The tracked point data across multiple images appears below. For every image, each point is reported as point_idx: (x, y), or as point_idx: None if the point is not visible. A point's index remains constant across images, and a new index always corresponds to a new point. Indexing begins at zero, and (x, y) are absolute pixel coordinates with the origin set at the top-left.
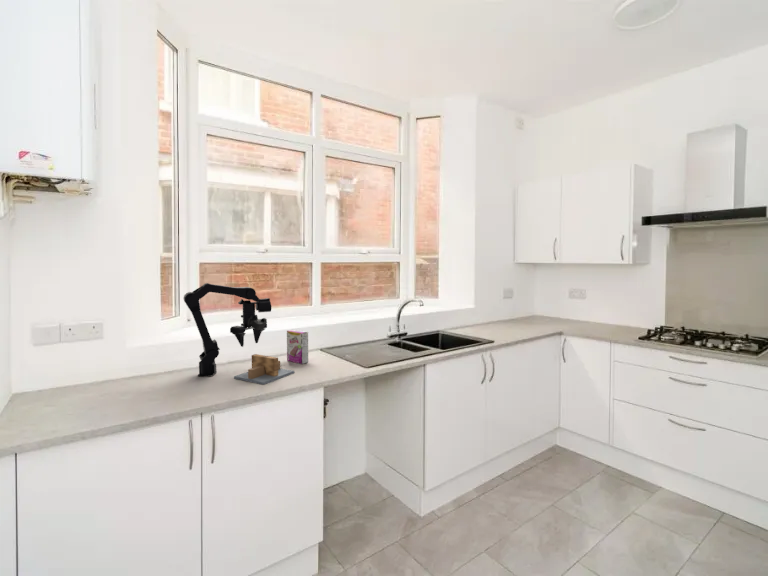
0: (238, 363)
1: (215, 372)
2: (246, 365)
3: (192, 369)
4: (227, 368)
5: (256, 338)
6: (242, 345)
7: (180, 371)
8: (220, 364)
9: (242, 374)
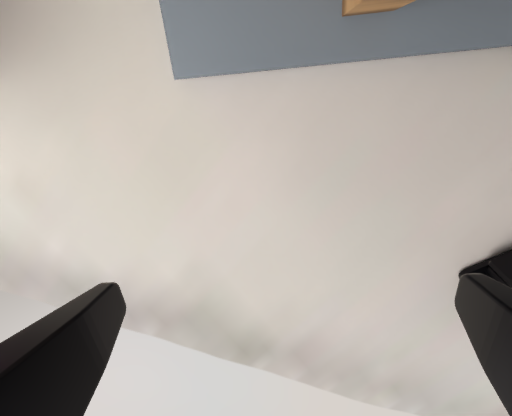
0: (235, 311)
1: (510, 253)
2: (234, 245)
3: (450, 397)
4: (350, 285)
5: (64, 367)
6: (506, 288)
7: (504, 412)
8: (307, 364)
9: (506, 15)
